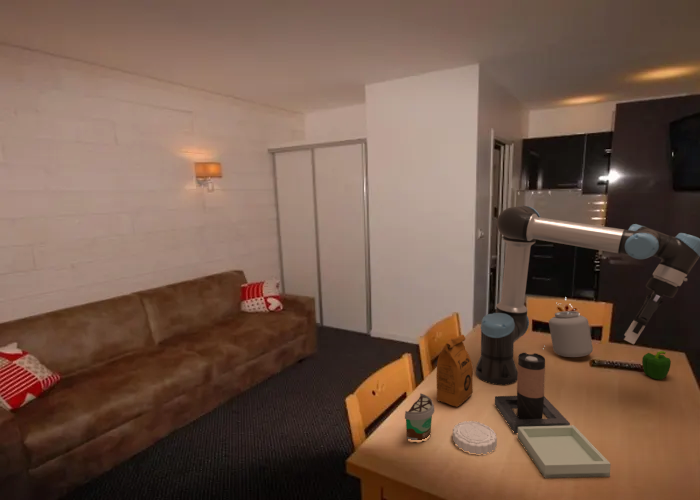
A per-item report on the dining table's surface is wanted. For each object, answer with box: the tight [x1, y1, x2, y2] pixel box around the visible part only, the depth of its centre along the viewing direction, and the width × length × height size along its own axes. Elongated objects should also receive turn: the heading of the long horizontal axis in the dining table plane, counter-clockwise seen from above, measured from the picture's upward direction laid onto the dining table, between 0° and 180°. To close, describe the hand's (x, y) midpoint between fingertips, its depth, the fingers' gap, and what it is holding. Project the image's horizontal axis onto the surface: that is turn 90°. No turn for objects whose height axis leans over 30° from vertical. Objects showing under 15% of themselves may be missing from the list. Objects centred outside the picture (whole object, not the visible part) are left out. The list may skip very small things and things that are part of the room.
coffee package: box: [435, 334, 474, 407], centre depth 133 cm, size 10×12×22 cm
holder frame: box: [494, 395, 570, 434], centre depth 121 cm, size 16×16×3 cm
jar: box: [542, 296, 594, 358], centre depth 165 cm, size 19×15×25 cm
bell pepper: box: [641, 350, 672, 381], centre depth 144 cm, size 8×8×10 cm
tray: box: [517, 424, 612, 479], centre depth 103 cm, size 16×16×4 cm
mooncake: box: [452, 420, 498, 455], centre depth 110 cm, size 12×12×4 cm
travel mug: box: [516, 352, 546, 419], centre depth 120 cm, size 8×8×20 cm
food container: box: [404, 393, 435, 440], centre depth 113 cm, size 12×6×10 cm, turn 148°
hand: (628, 339), depth 125 cm, fingers open, 13 cm apart
